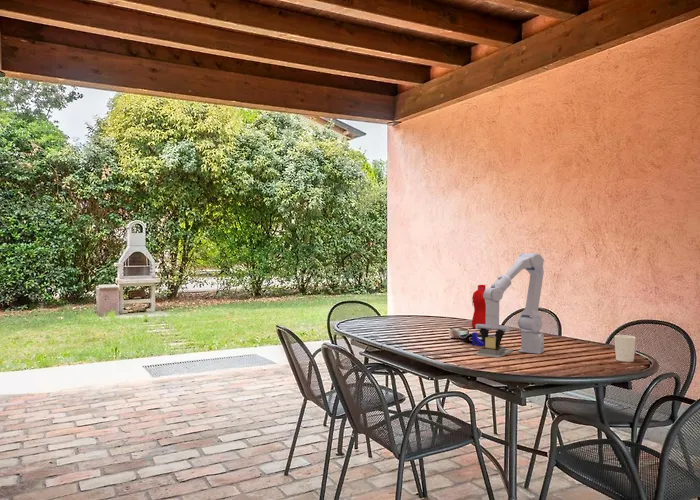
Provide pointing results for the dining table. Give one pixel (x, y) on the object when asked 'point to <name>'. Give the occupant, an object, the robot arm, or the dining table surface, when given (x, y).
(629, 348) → the white cup
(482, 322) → the water bottle
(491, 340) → the tan rectangular block
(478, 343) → the cable clip
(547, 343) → the dining table surface
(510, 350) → the grey base plate
